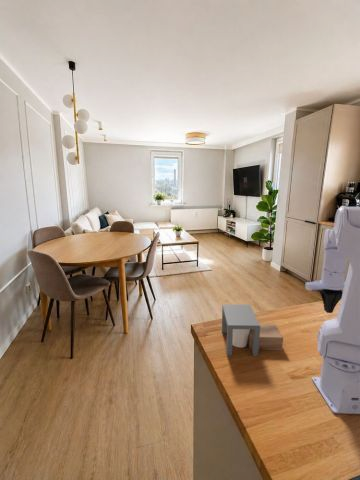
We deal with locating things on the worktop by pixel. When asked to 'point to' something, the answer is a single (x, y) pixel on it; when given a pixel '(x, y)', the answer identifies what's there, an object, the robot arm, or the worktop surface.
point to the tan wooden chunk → (267, 337)
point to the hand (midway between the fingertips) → (328, 311)
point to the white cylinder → (240, 337)
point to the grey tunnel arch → (240, 324)
